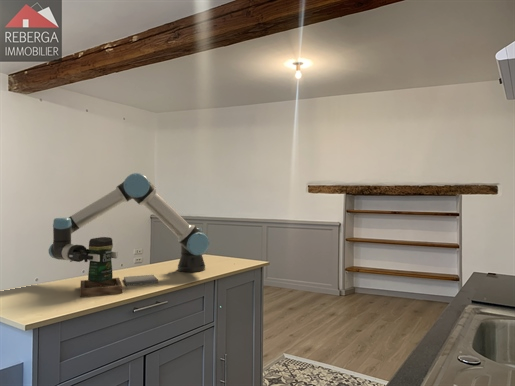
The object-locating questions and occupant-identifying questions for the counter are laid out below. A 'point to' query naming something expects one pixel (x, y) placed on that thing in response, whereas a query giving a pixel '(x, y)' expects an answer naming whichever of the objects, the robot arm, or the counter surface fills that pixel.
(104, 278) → the coffee jar
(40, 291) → the counter surface
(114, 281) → the walnut frame
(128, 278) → the grey board
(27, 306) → the counter surface
